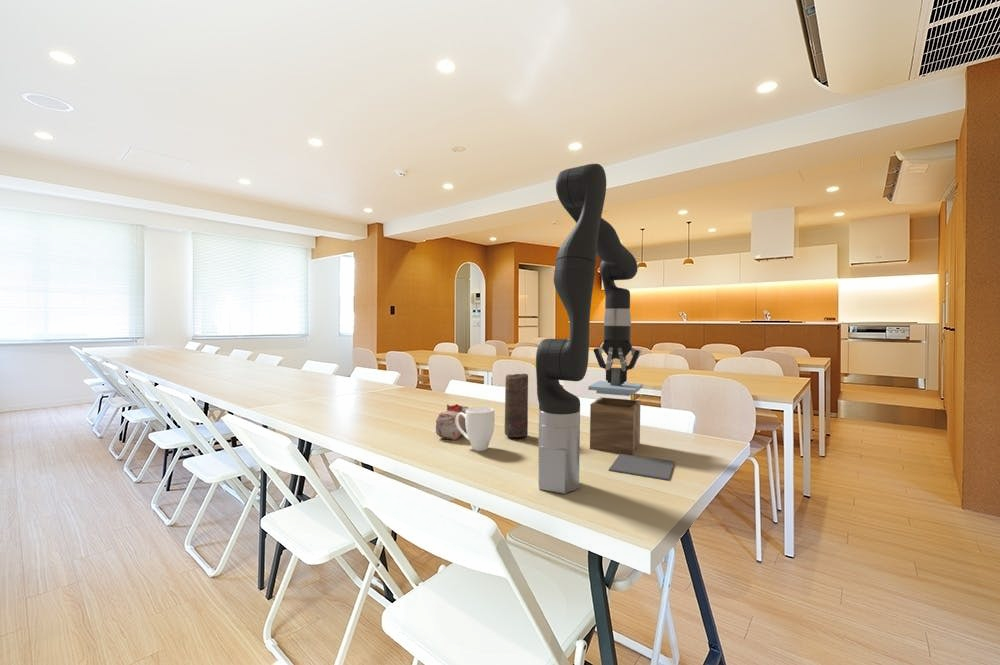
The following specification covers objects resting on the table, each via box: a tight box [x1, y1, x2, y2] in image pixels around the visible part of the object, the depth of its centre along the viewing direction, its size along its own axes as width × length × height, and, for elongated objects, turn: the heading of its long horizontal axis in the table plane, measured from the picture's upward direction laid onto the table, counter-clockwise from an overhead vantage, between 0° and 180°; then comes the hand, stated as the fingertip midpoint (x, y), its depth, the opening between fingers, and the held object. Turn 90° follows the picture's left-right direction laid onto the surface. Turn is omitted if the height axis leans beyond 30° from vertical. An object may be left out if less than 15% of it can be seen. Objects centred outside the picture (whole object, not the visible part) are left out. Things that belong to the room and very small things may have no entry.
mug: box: [455, 406, 495, 452], centre depth 127 cm, size 12×8×11 cm
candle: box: [504, 373, 529, 438], centre depth 138 cm, size 8×7×20 cm
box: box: [589, 396, 641, 455], centre depth 129 cm, size 12×12×13 cm
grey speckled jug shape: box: [435, 404, 469, 441], centre depth 141 cm, size 14×8×10 cm, turn 164°
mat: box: [608, 453, 675, 481], centre depth 112 cm, size 14×14×1 cm
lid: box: [588, 367, 644, 397], centre depth 128 cm, size 13×13×7 cm
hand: (616, 382), depth 128 cm, fingers closed on lid, 3 cm apart
